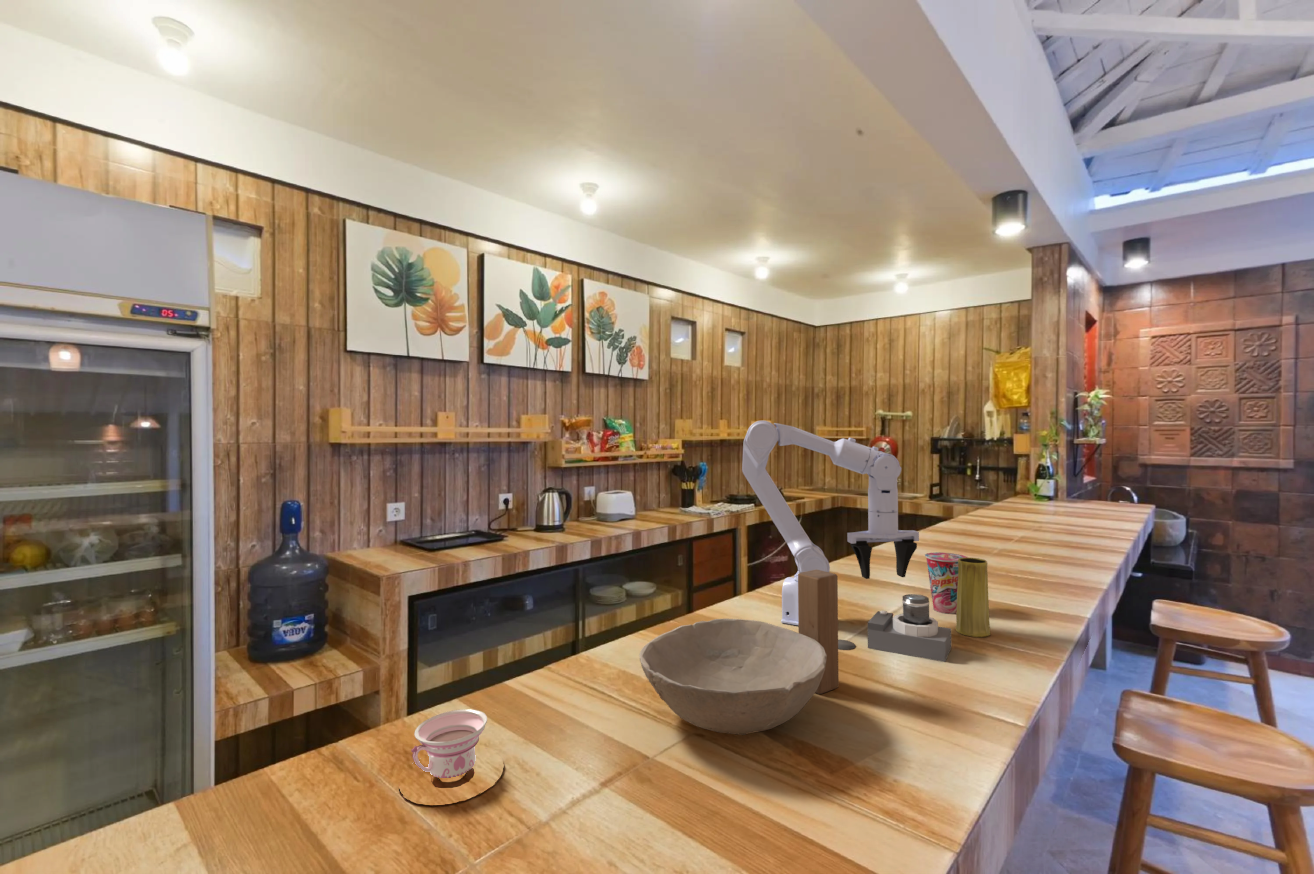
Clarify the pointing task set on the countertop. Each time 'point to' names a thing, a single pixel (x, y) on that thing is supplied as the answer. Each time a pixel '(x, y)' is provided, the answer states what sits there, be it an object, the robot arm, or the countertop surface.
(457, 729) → the teacup
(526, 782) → the countertop surface
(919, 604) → the lens
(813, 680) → the bowl
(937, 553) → the cup
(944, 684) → the countertop surface
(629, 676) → the countertop surface
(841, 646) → the lens cap
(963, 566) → the vase
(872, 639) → the camera body
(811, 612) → the wooden block
